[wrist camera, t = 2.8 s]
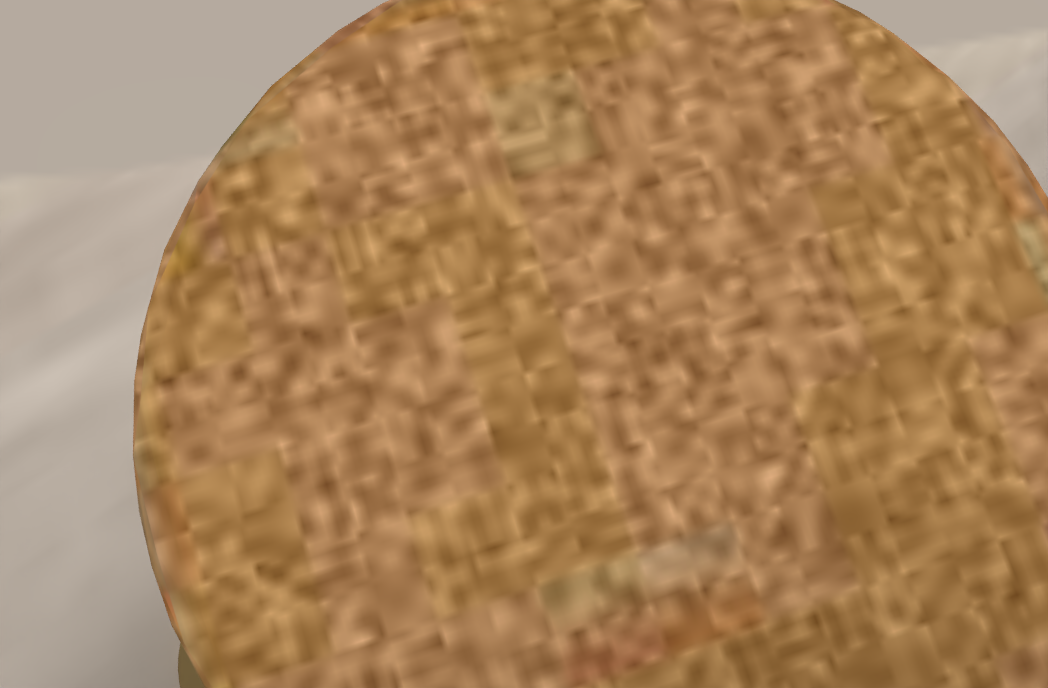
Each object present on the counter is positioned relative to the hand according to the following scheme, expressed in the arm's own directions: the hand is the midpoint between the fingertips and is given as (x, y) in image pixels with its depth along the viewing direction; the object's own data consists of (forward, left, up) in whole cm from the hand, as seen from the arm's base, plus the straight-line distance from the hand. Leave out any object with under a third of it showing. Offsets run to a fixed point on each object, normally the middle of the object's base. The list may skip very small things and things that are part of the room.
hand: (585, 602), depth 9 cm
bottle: (+1, +1, -10) cm, 10 cm away
